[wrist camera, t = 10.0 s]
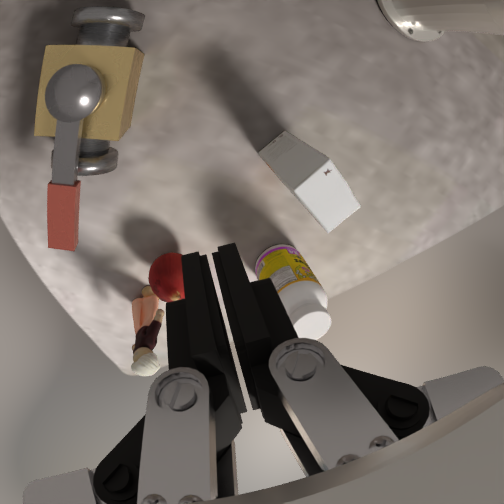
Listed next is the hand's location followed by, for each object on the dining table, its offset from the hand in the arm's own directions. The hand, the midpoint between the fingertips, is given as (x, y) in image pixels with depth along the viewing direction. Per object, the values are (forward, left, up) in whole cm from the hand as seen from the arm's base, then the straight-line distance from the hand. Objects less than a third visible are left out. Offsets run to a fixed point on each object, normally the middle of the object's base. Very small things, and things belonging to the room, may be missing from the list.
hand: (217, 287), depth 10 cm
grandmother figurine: (+23, -2, -27) cm, 36 cm away
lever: (+2, -10, -19) cm, 21 cm away
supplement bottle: (+15, +15, -27) cm, 35 cm away
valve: (-4, -10, -27) cm, 29 cm away
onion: (+16, +1, -27) cm, 32 cm away
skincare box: (+1, +12, -27) cm, 30 cm away
